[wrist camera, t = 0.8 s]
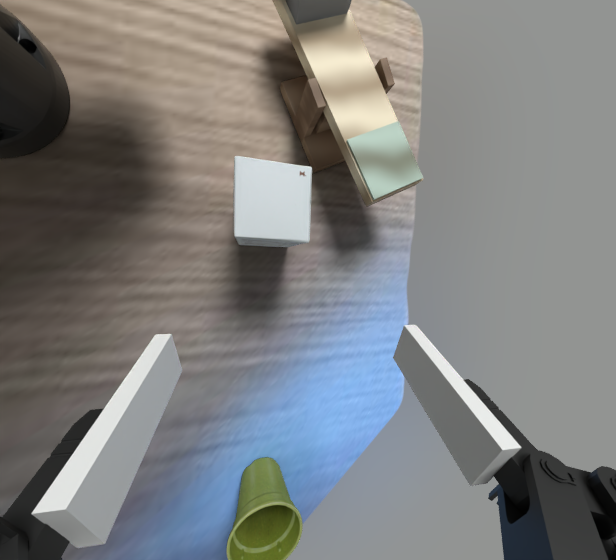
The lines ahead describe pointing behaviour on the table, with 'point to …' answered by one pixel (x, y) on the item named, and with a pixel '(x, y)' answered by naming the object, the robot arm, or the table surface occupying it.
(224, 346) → the table surface
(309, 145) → the fulcrum stand
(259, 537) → the plant pot
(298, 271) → the table surface
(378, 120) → the seesaw beam
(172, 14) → the table surface
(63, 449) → the robot arm
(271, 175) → the supplement box
